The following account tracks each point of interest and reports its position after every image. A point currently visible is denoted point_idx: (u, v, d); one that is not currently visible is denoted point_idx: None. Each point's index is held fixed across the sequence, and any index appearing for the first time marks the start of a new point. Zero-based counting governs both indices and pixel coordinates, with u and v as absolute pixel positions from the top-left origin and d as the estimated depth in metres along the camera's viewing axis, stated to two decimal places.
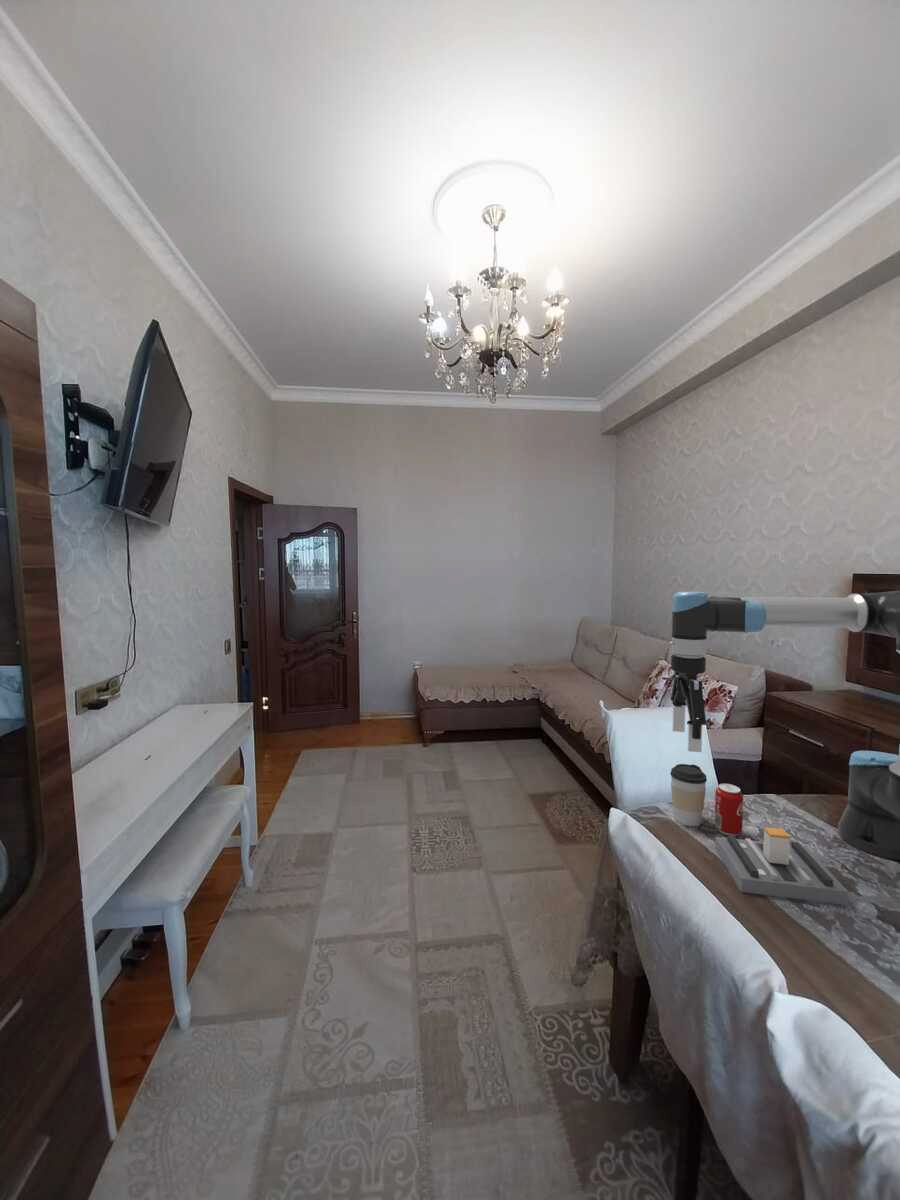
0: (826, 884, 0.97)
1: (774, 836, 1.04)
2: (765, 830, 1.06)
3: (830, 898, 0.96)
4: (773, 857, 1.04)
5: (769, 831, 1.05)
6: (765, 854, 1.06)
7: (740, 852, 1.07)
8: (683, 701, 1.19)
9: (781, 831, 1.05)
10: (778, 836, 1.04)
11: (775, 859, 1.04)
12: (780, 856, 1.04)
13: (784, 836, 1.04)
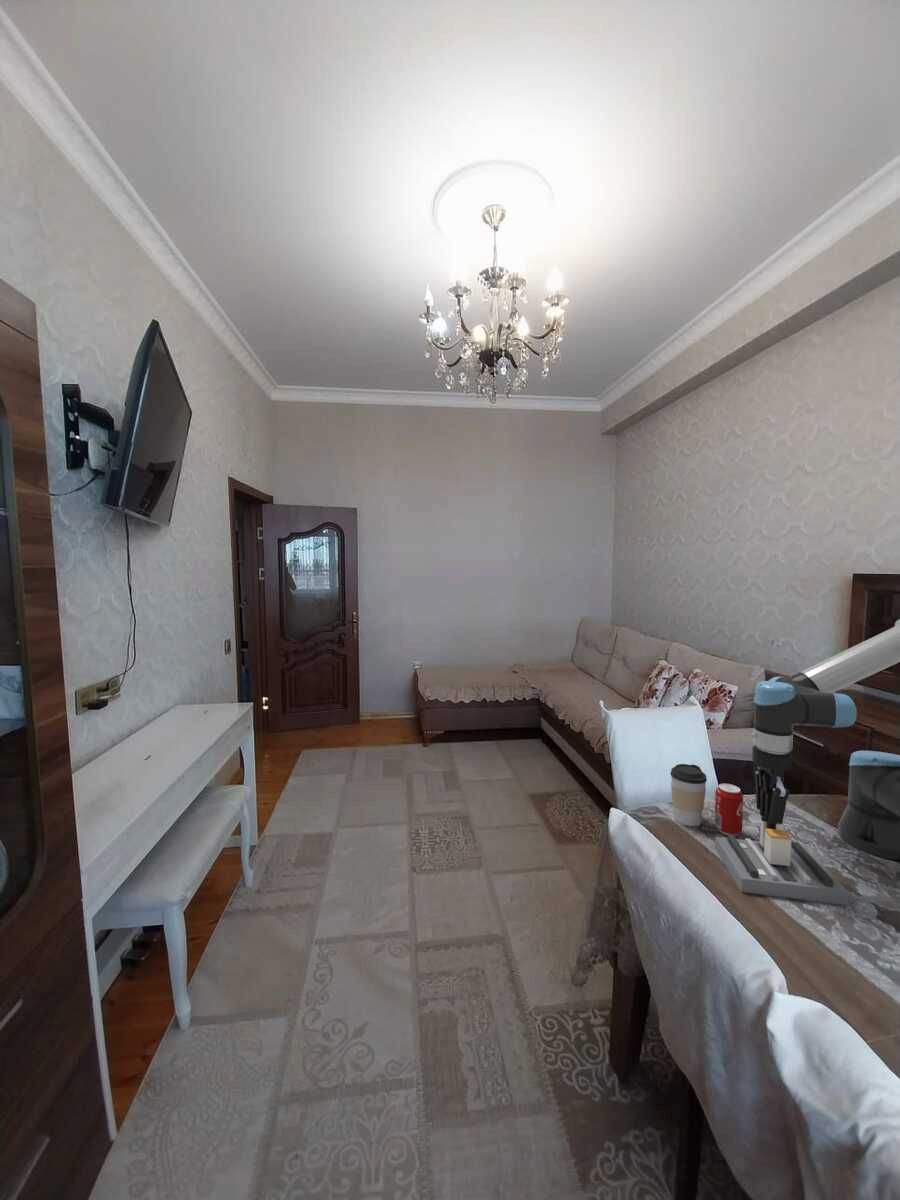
0: (826, 884, 0.97)
1: (775, 837, 1.03)
2: (766, 831, 1.06)
3: (830, 898, 0.96)
4: (774, 858, 1.04)
5: (770, 832, 1.05)
6: (766, 855, 1.06)
7: (740, 852, 1.07)
8: None
9: (782, 832, 1.05)
10: (779, 837, 1.03)
11: (776, 860, 1.04)
12: (781, 857, 1.03)
13: (785, 837, 1.03)
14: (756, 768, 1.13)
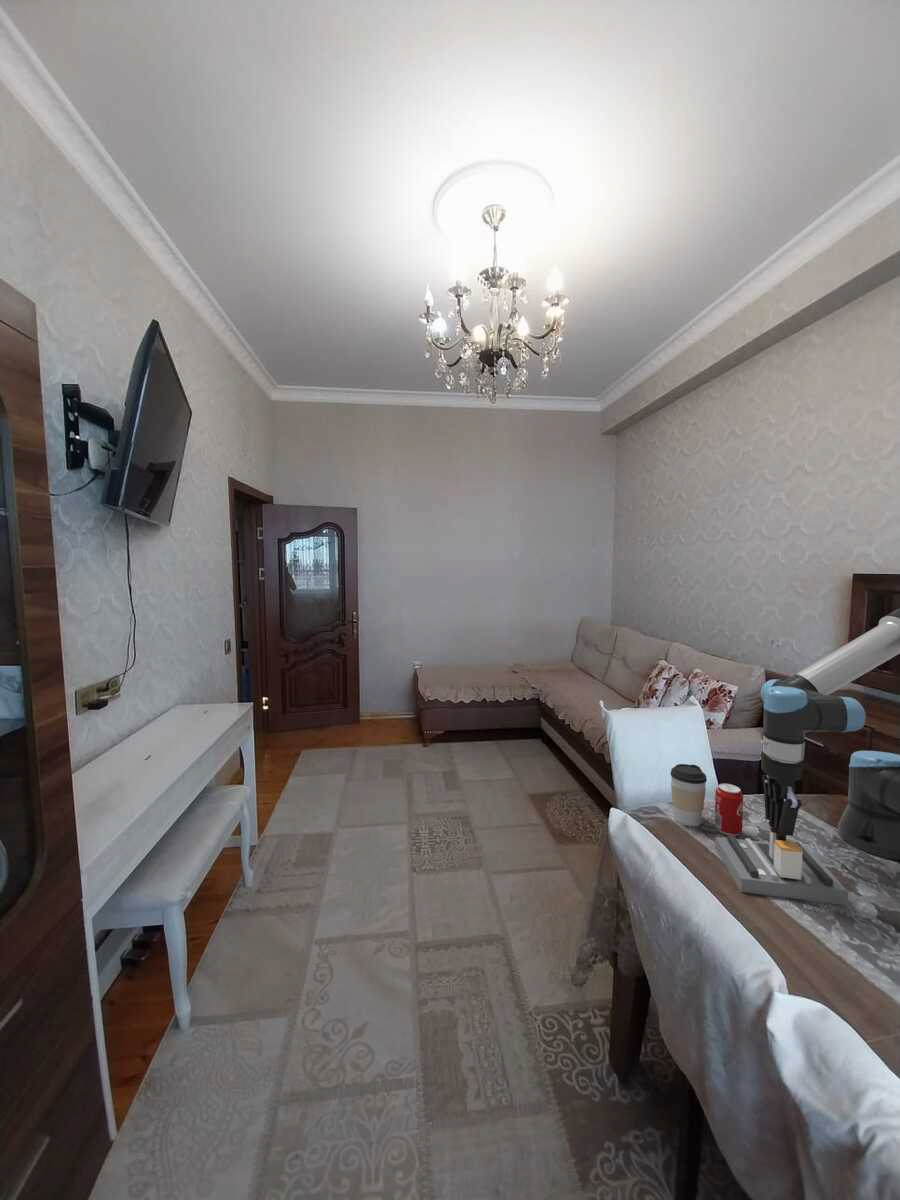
0: (826, 884, 0.97)
1: (785, 849, 0.99)
2: (776, 843, 1.01)
3: (830, 898, 0.96)
4: (784, 871, 0.99)
5: (780, 844, 1.00)
6: (776, 868, 1.01)
7: (740, 852, 1.07)
8: None
9: (793, 844, 1.00)
10: (790, 849, 0.99)
11: (787, 873, 0.99)
12: (792, 871, 0.99)
13: (796, 849, 0.99)
14: (765, 776, 1.09)
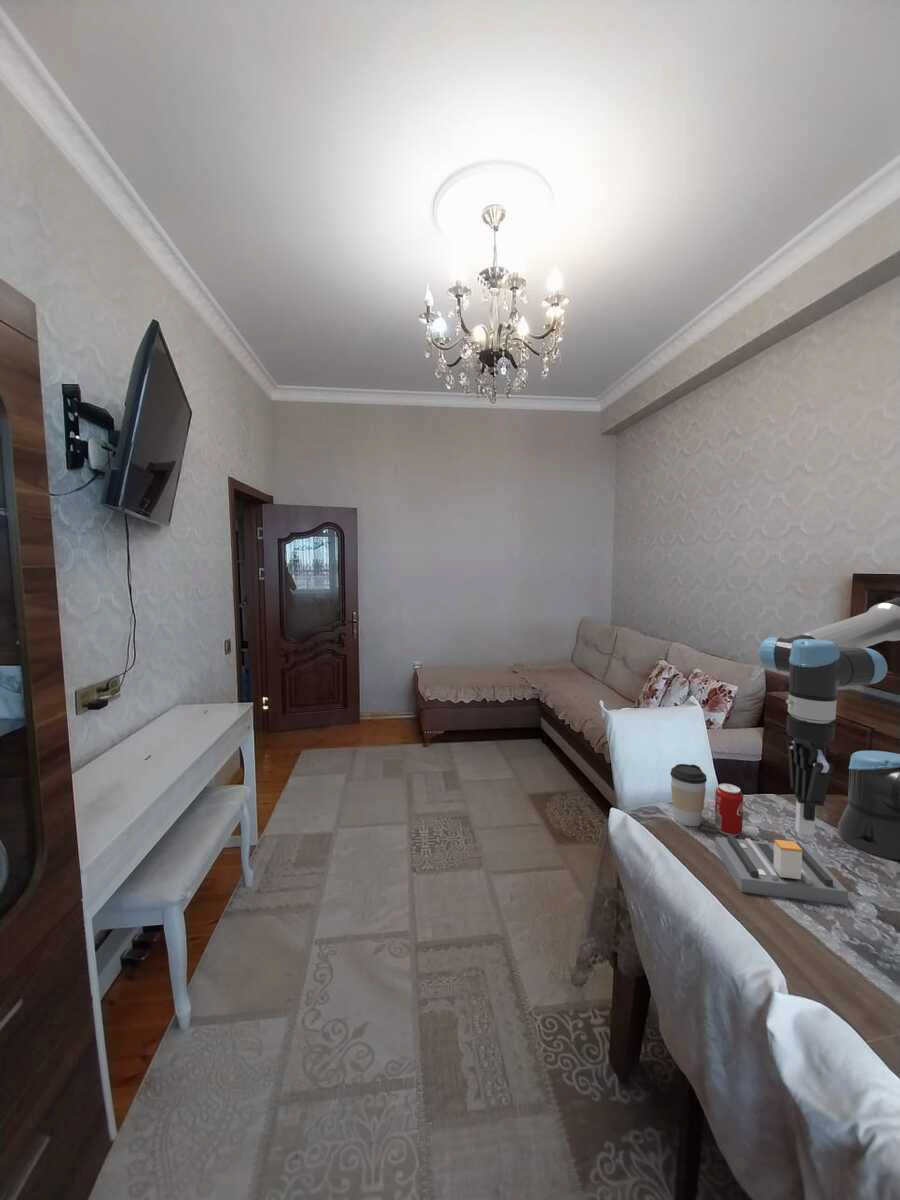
0: (826, 884, 0.97)
1: (785, 849, 0.99)
2: (775, 843, 1.01)
3: (830, 898, 0.96)
4: (784, 871, 0.99)
5: (780, 844, 1.00)
6: (775, 868, 1.01)
7: (740, 852, 1.07)
8: None
9: (792, 844, 1.00)
10: (789, 849, 0.99)
11: (786, 873, 0.99)
12: (792, 870, 0.99)
13: (796, 849, 0.99)
14: (790, 742, 0.97)
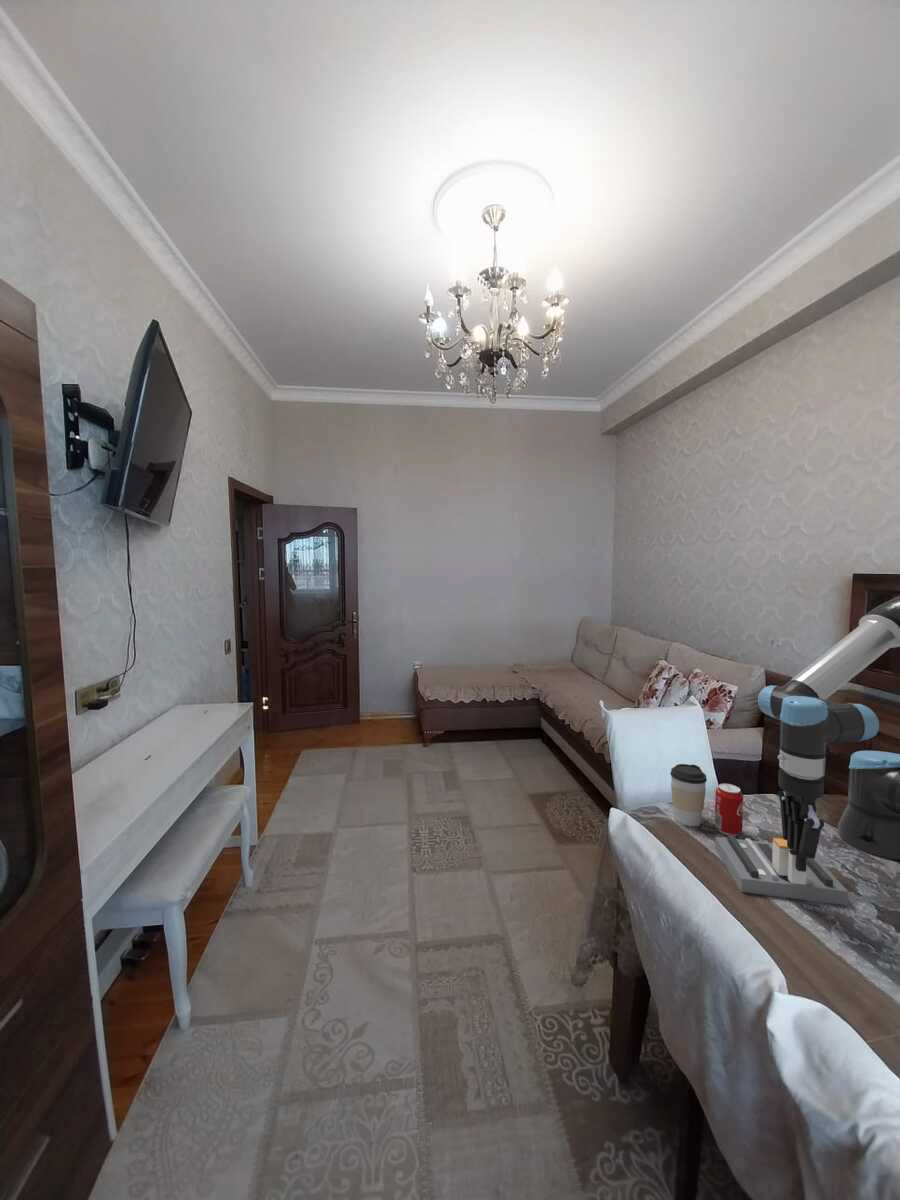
0: (826, 884, 0.97)
1: (784, 847, 1.00)
2: (774, 841, 1.02)
3: (830, 898, 0.96)
4: (783, 869, 1.00)
5: (778, 842, 1.01)
6: (774, 866, 1.02)
7: (740, 852, 1.07)
8: None
9: None
10: (788, 848, 0.99)
11: (785, 871, 1.00)
12: None
13: None
14: (781, 793, 1.01)
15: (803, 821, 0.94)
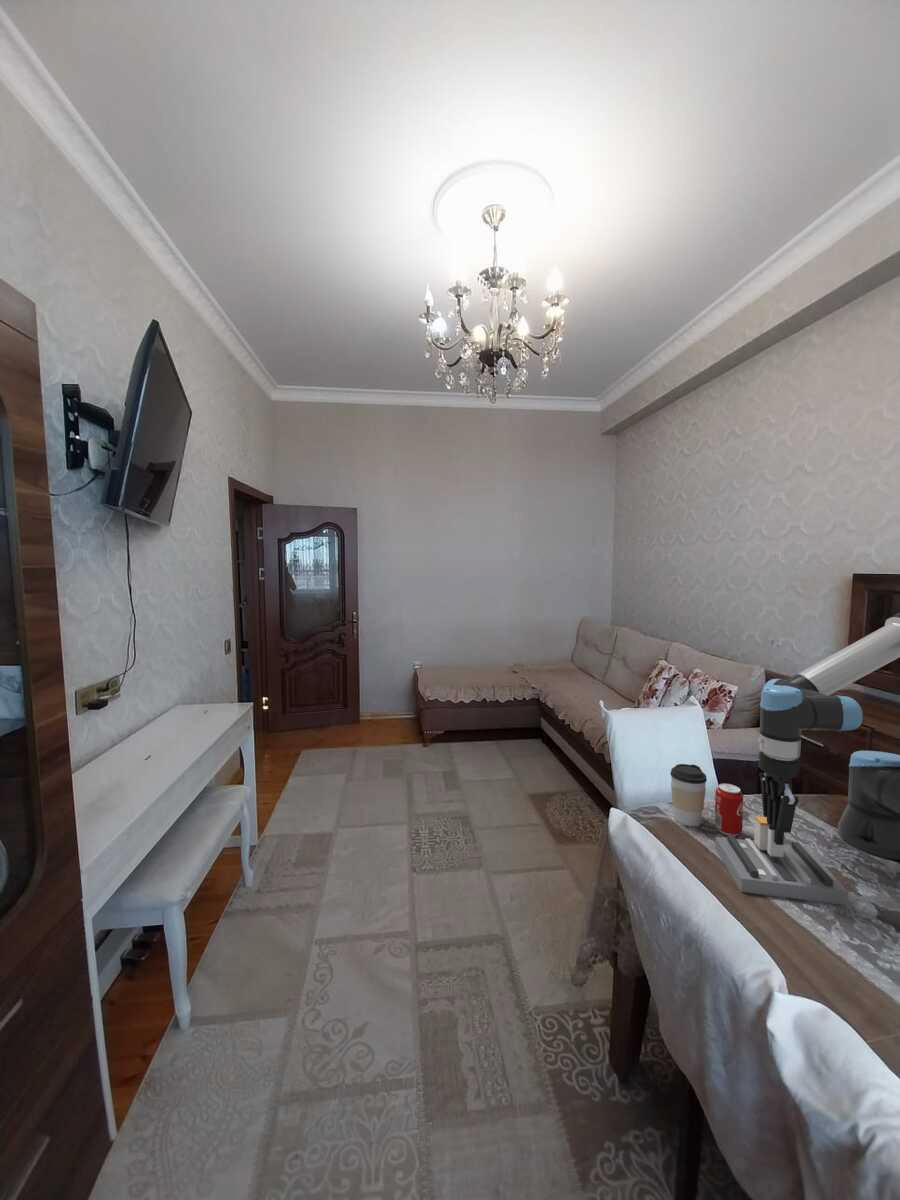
0: (826, 884, 0.97)
1: (764, 824, 1.09)
2: (756, 819, 1.11)
3: (830, 898, 0.96)
4: (763, 844, 1.09)
5: (759, 820, 1.10)
6: (756, 842, 1.11)
7: (740, 852, 1.07)
8: None
9: None
10: (768, 824, 1.09)
11: (765, 846, 1.09)
12: None
13: None
14: (762, 774, 1.10)
15: (780, 799, 1.03)
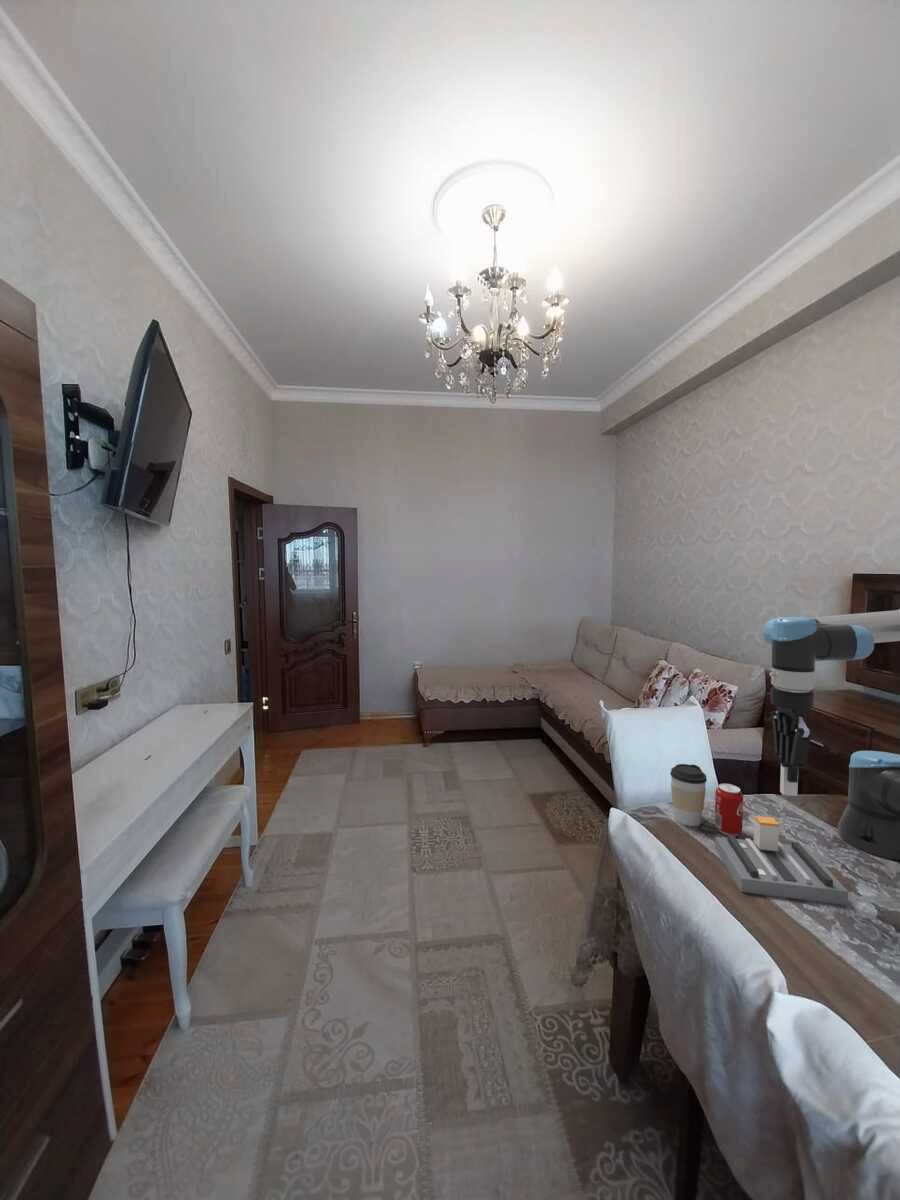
0: (826, 884, 0.97)
1: (764, 824, 1.09)
2: (755, 819, 1.11)
3: (830, 898, 0.96)
4: (763, 844, 1.09)
5: (759, 819, 1.10)
6: (755, 841, 1.11)
7: (740, 852, 1.07)
8: None
9: (771, 819, 1.10)
10: (768, 824, 1.09)
11: (765, 846, 1.09)
12: (770, 843, 1.09)
13: (773, 824, 1.08)
14: (774, 712, 1.06)
15: (794, 734, 0.99)
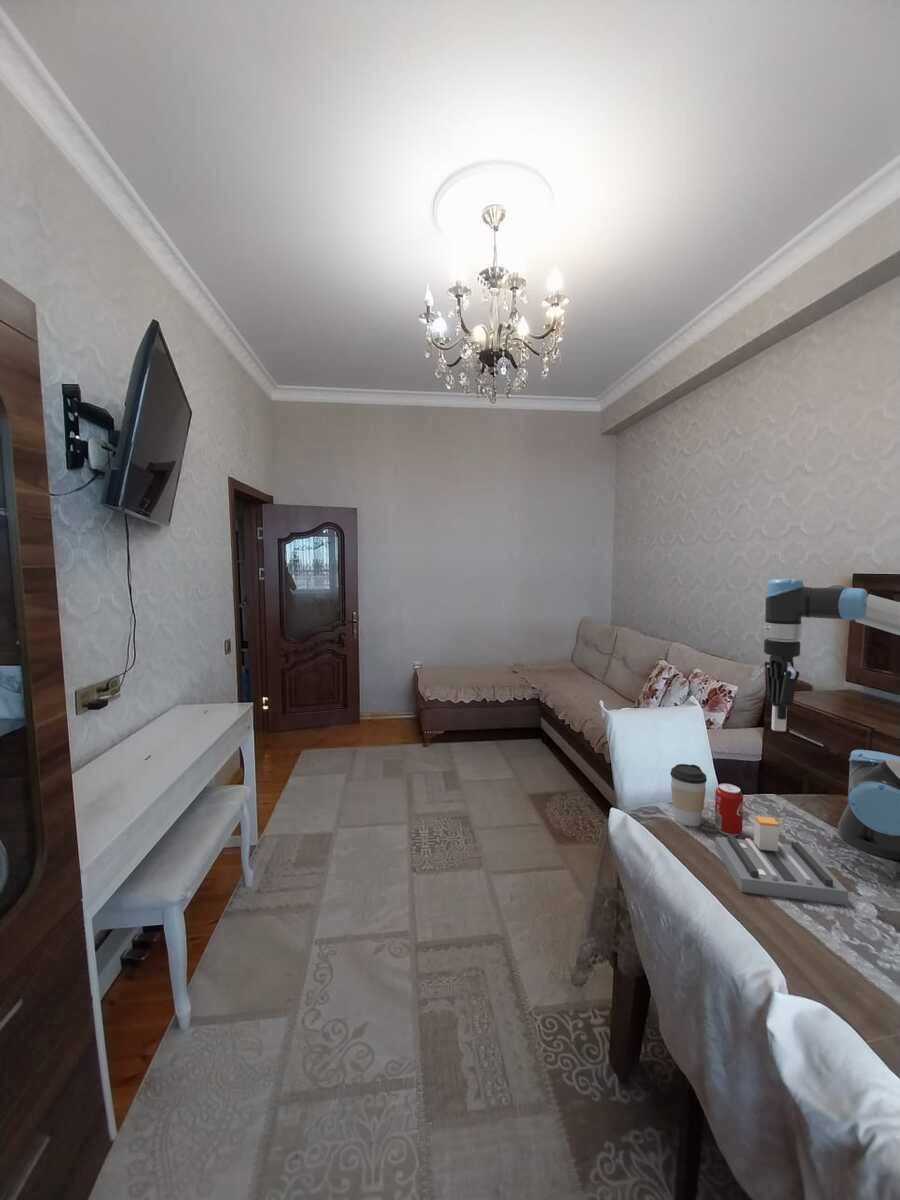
0: (826, 884, 0.97)
1: (764, 824, 1.09)
2: (755, 819, 1.11)
3: (830, 898, 0.96)
4: (763, 844, 1.09)
5: (759, 819, 1.10)
6: (755, 841, 1.11)
7: (740, 852, 1.07)
8: None
9: (771, 819, 1.10)
10: (768, 824, 1.09)
11: (765, 846, 1.09)
12: (770, 843, 1.09)
13: (773, 824, 1.08)
14: (767, 663, 1.23)
15: (783, 678, 1.16)
